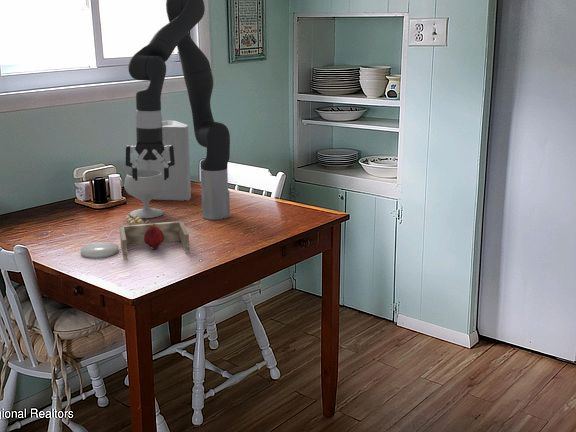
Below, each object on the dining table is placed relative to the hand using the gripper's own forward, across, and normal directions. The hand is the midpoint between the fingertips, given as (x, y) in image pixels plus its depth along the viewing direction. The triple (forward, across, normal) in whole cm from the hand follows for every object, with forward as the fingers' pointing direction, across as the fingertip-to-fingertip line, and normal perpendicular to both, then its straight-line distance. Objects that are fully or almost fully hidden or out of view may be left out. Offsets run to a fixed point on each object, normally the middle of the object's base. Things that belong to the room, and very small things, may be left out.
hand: (150, 179), depth 206 cm
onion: (+21, -1, +2) cm, 21 cm away
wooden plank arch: (+21, -1, +2) cm, 21 cm away
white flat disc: (+21, +16, +2) cm, 26 cm away
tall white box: (+20, -5, -62) cm, 65 cm away
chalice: (+20, +3, -35) cm, 41 cm away
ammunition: (+21, +4, -17) cm, 28 cm away
